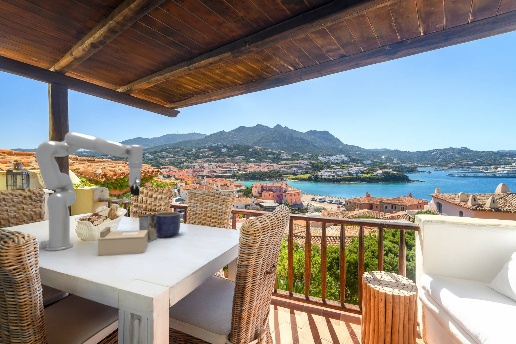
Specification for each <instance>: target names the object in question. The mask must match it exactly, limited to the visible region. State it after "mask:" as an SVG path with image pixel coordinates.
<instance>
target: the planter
mask: <svg viewBox="0 0 516 344" xmlns="http://www.w3.org/2000/svg"><path fill="white" fill-rule="evenodd" d="M155 214H156V236H158V237H160V238H172V237H175V236H177V235H178V234H179V232H180V229H181V213H180V212H178V211H160V212H156V213H155Z"/></svg>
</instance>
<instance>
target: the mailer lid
mask: <svg viewBox="0 0 516 344" xmlns="http://www.w3.org/2000/svg"><path fill="white" fill-rule="evenodd" d="M147 232H148V230H139V229H137V230H115V231H113V230H112V231H111V226H106V227H105V228H104V229H102V230H101V231H100V232H99V237H97V241H98V240H105V239H126V238H144V237H145V235H146V233H147Z"/></svg>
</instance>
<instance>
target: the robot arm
mask: <svg viewBox="0 0 516 344" xmlns="http://www.w3.org/2000/svg"><path fill="white" fill-rule="evenodd" d="M143 149H144V148H143V146H142V145H139V144H129V145H128V144H124V143H119V142H115V141H111V140H107V139H103V138H101V137H99V136H94V135H90V134H85V133H81V132H79V131H69V132H67V133H66V134H65V135H64V140H63V141H62V140H61V141H56V140H48V141H47V140H46V141H44V142H42V143H41V144H39V145H38V147H37V148H36V150H35V159H36V163H37V165H38V168H39V172H40V175H41V178H42V181H43V182H42V183H43V185H44V186H45V188H46V189H47V190H51V191H55V192H53V193H51V194H49V195H48V198H47V200H46V206H47V210H48V211H47V213H48V240H42V241H40V245H41V246H45V249H44V250H46V251H53V252H54V251H55V252H56V251H61V250H68V249H70V248H72V247H73V246H74V243H72V242H71V241H70V240H71V238H70V235H71V234H70V232H71V231H70V227H71V226H70V220H71V217H70V210H69V207H70V206H72V205H74V204H75V203H76V202H77V194H76V191H75V187H74V183H73V181H72V179H71V177H70V175H68V174H67V173H64V172H61V170H60V167H59V164H58V162H57V160H56V159H55V157H61V158H62V157H67V156H69V155H71V154H73V153H75V152H77V151H79V150H86V151H90V152H94V153H100V154H105V155H109V156H114V157H118V158H120V157H121V158H128V159H127V160H128V169H129V173H128V174H129V176H128V185H130V189H129V190H130V195H132V196H133V197H140V193H141V192H140V185H141V169H143Z"/></svg>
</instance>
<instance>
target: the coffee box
mask: <svg viewBox="0 0 516 344" xmlns="http://www.w3.org/2000/svg"><path fill="white" fill-rule="evenodd" d="M138 219H139V220H138V223H139V225H138V227H139V229H138V230H148V232H147V244H148V243H150V242H153V241H154V240H157V234H156V213H146V214H142V215H139V216H138Z"/></svg>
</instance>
